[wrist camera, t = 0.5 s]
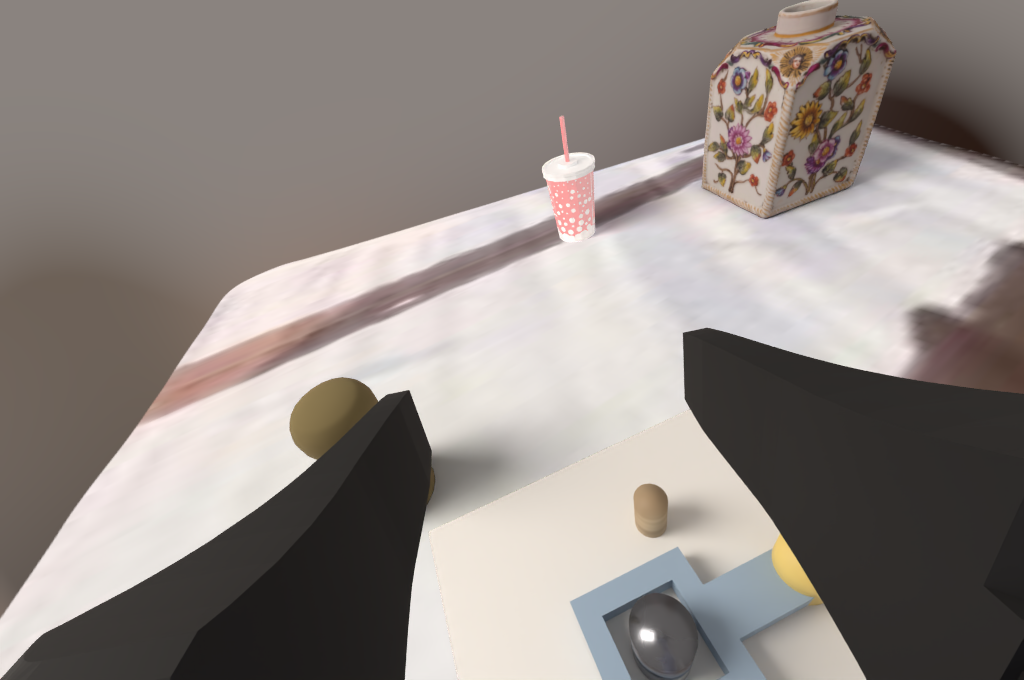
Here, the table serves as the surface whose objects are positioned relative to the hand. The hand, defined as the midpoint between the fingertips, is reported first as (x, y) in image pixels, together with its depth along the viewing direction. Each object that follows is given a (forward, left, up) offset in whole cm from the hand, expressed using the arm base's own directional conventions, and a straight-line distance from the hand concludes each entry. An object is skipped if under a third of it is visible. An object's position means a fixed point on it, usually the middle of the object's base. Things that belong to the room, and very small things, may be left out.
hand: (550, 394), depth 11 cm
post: (-3, -1, -19) cm, 19 cm away
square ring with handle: (-3, -5, -17) cm, 18 cm away
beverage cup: (+38, -17, -19) cm, 46 cm away
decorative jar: (+31, -40, -19) cm, 54 cm away
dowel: (+2, -5, -19) cm, 19 cm away
